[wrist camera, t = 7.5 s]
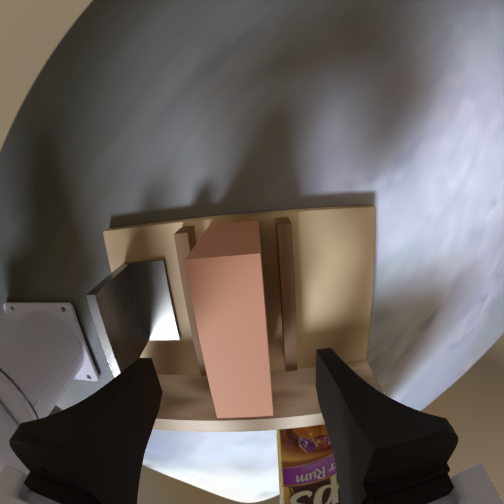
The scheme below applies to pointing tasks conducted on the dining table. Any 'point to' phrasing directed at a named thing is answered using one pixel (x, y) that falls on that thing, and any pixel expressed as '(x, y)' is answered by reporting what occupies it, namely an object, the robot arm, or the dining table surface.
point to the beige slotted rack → (277, 309)
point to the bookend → (133, 311)
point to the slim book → (232, 318)
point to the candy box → (307, 466)
